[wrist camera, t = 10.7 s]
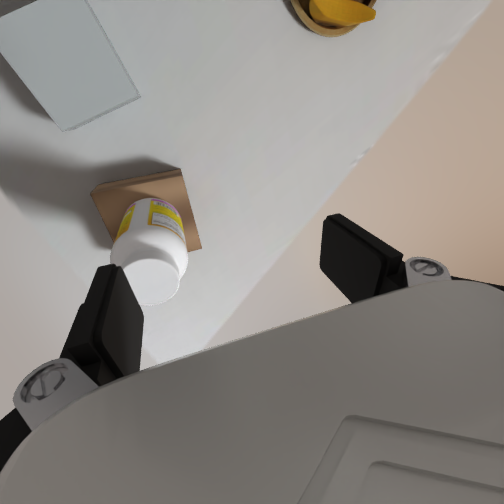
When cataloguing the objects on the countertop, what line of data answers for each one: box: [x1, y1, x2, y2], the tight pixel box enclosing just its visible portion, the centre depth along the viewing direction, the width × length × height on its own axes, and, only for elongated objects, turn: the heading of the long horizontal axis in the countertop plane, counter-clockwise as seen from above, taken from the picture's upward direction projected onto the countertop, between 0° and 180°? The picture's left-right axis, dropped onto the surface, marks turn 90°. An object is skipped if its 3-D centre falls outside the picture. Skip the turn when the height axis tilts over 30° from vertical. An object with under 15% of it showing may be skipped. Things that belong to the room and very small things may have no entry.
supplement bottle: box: [110, 198, 188, 306], centre depth 25 cm, size 7×7×13 cm
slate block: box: [0, 0, 141, 132], centre depth 23 cm, size 8×8×4 cm
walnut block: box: [90, 169, 202, 252], centre depth 32 cm, size 10×10×4 cm
